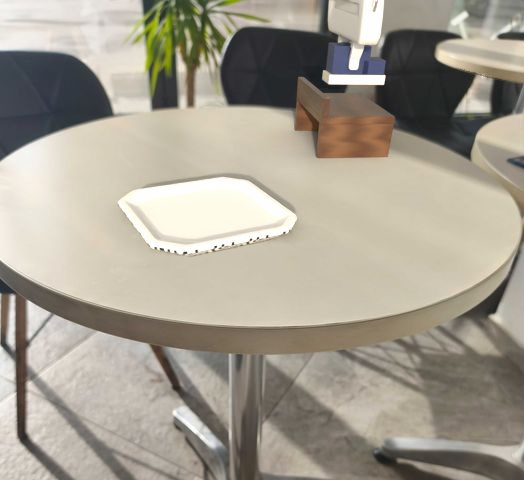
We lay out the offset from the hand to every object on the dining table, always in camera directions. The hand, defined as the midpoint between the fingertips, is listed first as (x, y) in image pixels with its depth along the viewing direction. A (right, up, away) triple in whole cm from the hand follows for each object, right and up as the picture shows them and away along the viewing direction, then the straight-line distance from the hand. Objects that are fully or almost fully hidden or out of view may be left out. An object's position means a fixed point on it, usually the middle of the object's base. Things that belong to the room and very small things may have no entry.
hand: (347, 66), depth 93 cm
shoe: (+1, -2, +2) cm, 3 cm away
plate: (-24, -36, -24) cm, 50 cm away
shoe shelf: (0, -11, +9) cm, 14 cm away
